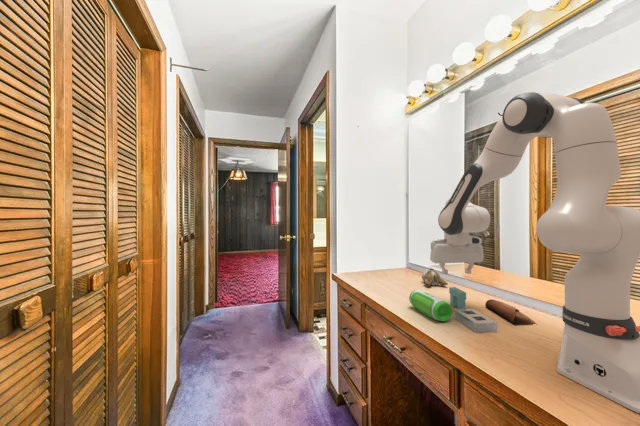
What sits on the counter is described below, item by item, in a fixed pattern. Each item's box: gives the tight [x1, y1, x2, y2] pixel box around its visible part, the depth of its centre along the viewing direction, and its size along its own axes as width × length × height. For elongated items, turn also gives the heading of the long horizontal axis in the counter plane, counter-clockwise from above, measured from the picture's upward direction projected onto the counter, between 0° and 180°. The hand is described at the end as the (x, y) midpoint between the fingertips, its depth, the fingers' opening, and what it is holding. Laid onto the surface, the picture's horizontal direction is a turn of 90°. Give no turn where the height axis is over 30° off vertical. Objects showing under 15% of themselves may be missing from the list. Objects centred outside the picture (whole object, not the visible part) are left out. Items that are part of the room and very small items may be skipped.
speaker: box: [408, 289, 453, 322], centre depth 106 cm, size 18×7×8 cm, turn 13°
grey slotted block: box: [453, 308, 498, 334], centre depth 96 cm, size 13×7×3 cm, turn 3°
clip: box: [448, 286, 467, 309], centre depth 112 cm, size 8×2×7 cm, turn 3°
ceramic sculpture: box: [421, 268, 448, 287], centre depth 147 cm, size 11×9×15 cm
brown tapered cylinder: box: [485, 299, 538, 326], centre depth 103 cm, size 18×7×7 cm
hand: (456, 273), depth 113 cm, fingers open, 8 cm apart
